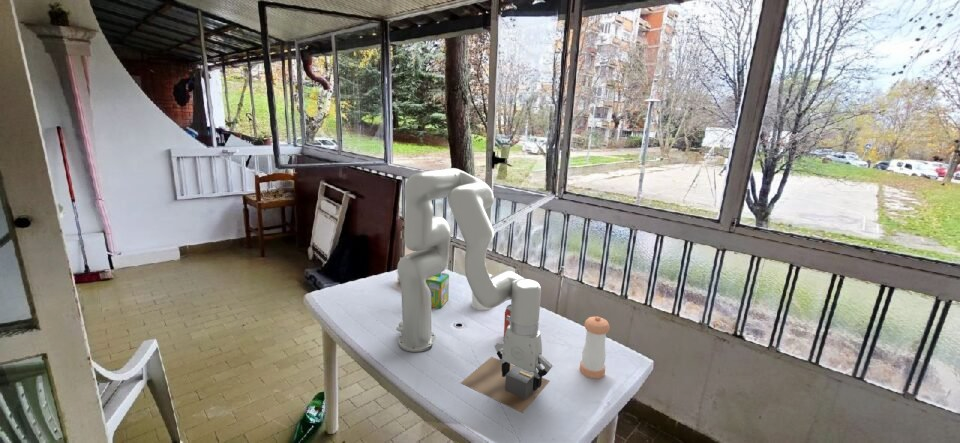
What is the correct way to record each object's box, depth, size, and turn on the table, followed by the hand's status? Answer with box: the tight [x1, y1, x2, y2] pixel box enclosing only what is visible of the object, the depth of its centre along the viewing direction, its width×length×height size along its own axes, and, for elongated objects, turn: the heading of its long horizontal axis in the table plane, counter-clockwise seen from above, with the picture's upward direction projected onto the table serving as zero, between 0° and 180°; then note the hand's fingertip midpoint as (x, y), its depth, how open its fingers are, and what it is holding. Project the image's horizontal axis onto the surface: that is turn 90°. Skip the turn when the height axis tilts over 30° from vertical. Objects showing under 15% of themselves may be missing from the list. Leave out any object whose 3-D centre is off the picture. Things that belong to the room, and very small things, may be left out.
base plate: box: [460, 356, 551, 414], centre depth 116 cm, size 20×16×2 cm
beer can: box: [503, 303, 511, 338], centre depth 139 cm, size 7×7×12 cm
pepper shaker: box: [579, 316, 611, 379], centre depth 120 cm, size 7×7×19 cm
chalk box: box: [426, 272, 450, 309], centre depth 165 cm, size 9×9×15 cm
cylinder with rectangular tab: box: [471, 273, 494, 311], centre depth 164 cm, size 9×9×12 cm
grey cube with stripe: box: [505, 365, 535, 400], centre depth 113 cm, size 6×6×5 cm
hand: (520, 381), depth 113 cm, fingers open, 9 cm apart
